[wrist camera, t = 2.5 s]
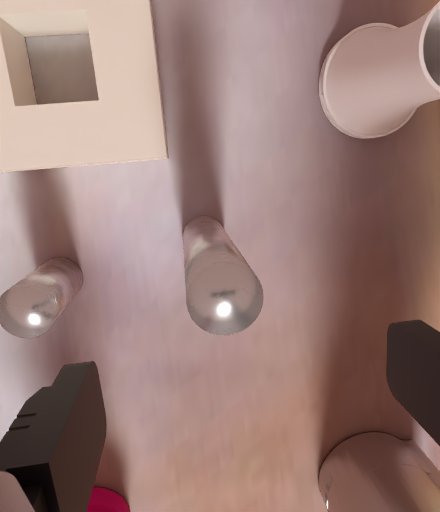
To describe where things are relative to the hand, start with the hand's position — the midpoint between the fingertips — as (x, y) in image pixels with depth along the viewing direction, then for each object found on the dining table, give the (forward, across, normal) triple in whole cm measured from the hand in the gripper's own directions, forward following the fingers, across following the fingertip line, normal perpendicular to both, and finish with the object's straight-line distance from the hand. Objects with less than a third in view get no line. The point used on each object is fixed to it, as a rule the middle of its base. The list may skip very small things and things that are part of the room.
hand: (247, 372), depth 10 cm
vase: (+20, -13, -10) cm, 26 cm away
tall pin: (+20, 0, 0) cm, 20 cm away
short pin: (+20, +11, +2) cm, 23 cm away
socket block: (+20, +8, -12) cm, 24 cm away
